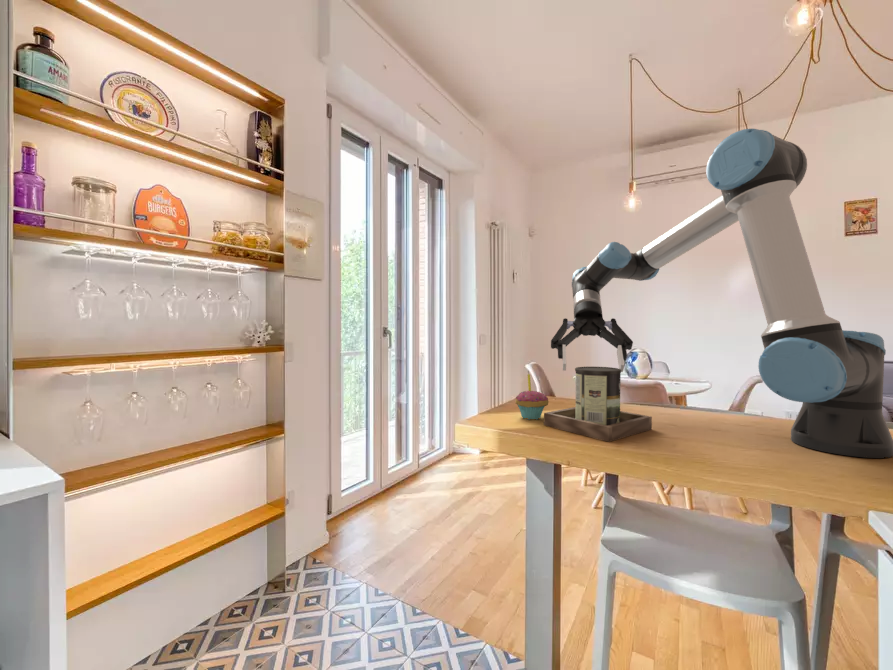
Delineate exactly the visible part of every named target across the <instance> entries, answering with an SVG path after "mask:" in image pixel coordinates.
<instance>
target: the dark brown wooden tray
mask: <svg viewBox="0 0 893 670" xmlns="http://www.w3.org/2000/svg"><path fill="white" fill-rule="evenodd" d="M575 417H576V406H574V407H567V408H563V409H558V410H553V411H547V412H544V413H543V426H545V425H546V427H549V428H553V429H558V430H561V431H565V432H568V433H573V434H576V435H581V436H583V437H589V438H592V439H596V440H600V441H604V442H609V443H610V442H612V441H616V440H619V439H624V438H626V436H627V437H630V435H631V436H633V434H634V435H637V434H641V433H644V432H647V431H651V430H652V425H653V416H651V415H644V414H639V413H635V412H634V413H633V412H628V411H623V410H620V423H616V424H611V425H602V424H598V423H593V422H589V421H584V420H580V419H575ZM640 432H641V433H640ZM623 437H624V438H623Z"/></svg>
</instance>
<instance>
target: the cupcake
mask: <svg viewBox="0 0 893 670" xmlns="http://www.w3.org/2000/svg"><path fill="white" fill-rule="evenodd" d="M529 372H530V371H529V370H528V371H527V373H528V374H527V385H528V386H527V388H528V390H525V391H522V392H519V394H518V395H516V396H515V401H514V402H515V404H516V405H517V407H518V410H519V412H520V414H521V418H522V417H523V418H522V419H524V418H528V419H527V420H530V419H536V420H539V419H538V418H540V419H541V417H542V414H543V410H544V409H545V408H546V407H547V406H548V405H549V402H550V401H549V398H548V397H547V395H545V394H544V393H543V392H540V391H536V390H532V387H531V386H532V384H531V382H532V381H531V374H530V373H529Z"/></svg>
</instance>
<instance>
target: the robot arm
mask: <svg viewBox="0 0 893 670" xmlns="http://www.w3.org/2000/svg"><path fill="white" fill-rule="evenodd" d="M807 168H808V158H807V156H806V154H805V152H804V150H803V149H802V148H801V147H800V146H799V145H797V144H795V143H793V142H791V141H788V140H785V139H782V138H781V137H778V136H776V135H774V134H772V133H771V132H770V131H768V130H765V129H757V128H744V129H741V130H737V131H735V132H733V133H731V134H730V135H728V136H727V137H725V138H723V140H722V141H720V143H718V145H716V147H715V148H714V150H713V152H712V154H711V155H710V156H709V158H708V161H707V163H706V167H705V173H706V178H707V181H708V182H709V183H710V184H711V185H712V187H714V188H715V189H717V190H719V191H721V194H720V195H719V196H717V197H716V198H714V199H713V200H711V201H710V202H709V203H707V204H706V205H704V206H703V207H701V208H700V209H698V210H697V211H695V212H694V213H692V214H691V215H689V216H687V218H685V219H684V220H682V221H681V222H679V223H678V224H676V225H675V226H673V227H672V228H670V229H669V230H667V231H665V233H663V234H662V235H660V236H658V237H657V238H656V239H654V240H653V241H651V242H649V243H648V244H647V245H645V246H644V247H642V248H640V249H639V250H638V251H636V252H630V250H629V248H627V247H626V246H625V245H624V244H621V243H620V242H619V241H612V242H608V244H607V245H606V246H605V247H603V249H601V250H600V251H599V253H598V254H597V255H596V256H595V257H594V258H593V259H592V261H591V262H590V263H589V264H588V265H587V266H582V267H580V268H578V269H576V270H575V271H574V272H573V274H572V276H571V278H572V279H571V280H572V281H571V288H572V289H571V290H572V302H573V305H572V306H573V320H568V318H563V319H562V324H561V325H560V327H559V328H558V330H557V332H556V333H555V335H554V336H553V337H552V338H551V340H550V349H556V350H557V358H558V359H559V360H560V359H562V360H561V361H562V371H563V372H564V371H567V351H566V350H567V348H566V347H567V346H569V344H571V343H572V342H573V341H574V340H575V339H577V338H579V337H580V336H582V335H583V337H585V336H592V337H595V336H598V338H600V339H603V340H605V341H606V342H608V343H609V344H610V345H612V346H613V347H614V348H616V356H617V362H618V363H617V364H618V369H621V373H623V372H624V368H625V361H626V360H627V357H628V352H627V351H630V350H632V349H633V345H634V342H633V340H632V339H631V337H630V336H629V335H627V333H626V332H625V331H624V330H623V329H622V328H621V327H620V326H619V324H618V322H617V320H616V318H613V317H612V318H610V320H607V321H606V320H605V319H604V317H603V309H602V301H601V295H600V292H601V291H602V289H604V287H605V286H607V285H608V284H609V283H610V282H611V280H613V279H619V280H620V279H623V280H624V279H625V280H633V281H638V282H640V281H649V280H652V279H654V278H656V277H657V275H658V273H659V271H660V269H661V268H662V267H665V266H666V265H667V264H669V263H671V262H672V261H675V260H676V259H677V258H679V257H681V256H683V255H684V254H686V253H688V252H689V251H691V250H693V249H694V248H696V247H697V246H699V245H701V244H703V243H704V242H706V241H708V240H709V239H710V238H712V237H714V236H716V235H718V234H719V233H721V232H722V231H723V230H726V229H727V228H729V227H730V226H733V225H734V224H735V223H737V222H739V226H740V229H741V230H740V231H741V232H742V236H743V239H744V240H743V241H744V244H745V248H746V251H747V254H748V258H749V261H750V267H751V269H752V273H753V276H754V281H755V283H756V287H757V291H758V295H759V298H760V301H761V305H762V308H763V313H764V316H765V320H766V324H767V327H766V328H765V329H764V331H763V332H762V333H761V335H760V337H761V342H762V345H763V348H764V350H763V352H762V353H761V355H760V356H759V358H758V365H757V367H758V372H759V376H760V378H761V379H762V382H763V383H764V384H765V386H767V388H769V390H771V392H773V393H774V394H775V395H778V396H780V397H781V398H783V399H786V400H789V401H792V402H796V403H797V402H799V403H802V404H801V407H800V409H799V412H798V414H797V416H796V418H795V419H794V422H793V425H792V427H791V429H790V440H791V442H792V443H794V444H797V445H799V446H801V447H804V448H807V449H808V448H809V449H811V450H815V451H820V452H824V453H829V454H834V455H840V456H841V455H843V456H849V457H855V458H869V459H885V458H884V457H888V458H892V457H893V436H892V434H891V431H890V428H889V427H888V425H887V421H886V420H885V416H884V412H883V397H884V373H885V372H884V371H885V355H886V349H885V341H884V339H883V337H882V336H881V335H879V334H877V333H874V332H868V331H867V332H866V331H856V330H843V328H842V326H841V322H840V321H839V320H837V319H835V318H833V317H831V316H829V315H827V314H826V311H825V308H824V305H823V302H822V298H821V294H820V292H819V289H818V285H817V282H816V278H815V275H814V272H813V269H812V265H811V262H810V259H809V256H808V252H807V249H806V246H805V243H804V240H803V237H802V233H801V230H800V227H799V223H798V221H797V217H796V214H795V210H794V208H793V204H792V201H791V197H790V196H791V195H792V194H793V192H794V191H795V189H797V188H798V187H799V185H800V184H801V183H802V181H803V179H804V177H805V175H806V174H807V170H808V169H807ZM571 327H573V329H572V330H571V331H570V332H568V333H567V330H569V329H570V328H571ZM607 328H608V329H607ZM566 333H567V334H566ZM565 334H566V335H565ZM891 456H892V457H891Z"/></svg>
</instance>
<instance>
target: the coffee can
mask: <svg viewBox="0 0 893 670" xmlns="http://www.w3.org/2000/svg"><path fill="white" fill-rule="evenodd" d="M574 370H575V407H576V417H575V419H580V420H584V421H589V422H593V423H598V424H602V425H611V424H616V423H620V411H621V374H622V372H621V369H619V367H618V368H617V367H609V366H608V367H607V366H577V367H575V368H574Z"/></svg>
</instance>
